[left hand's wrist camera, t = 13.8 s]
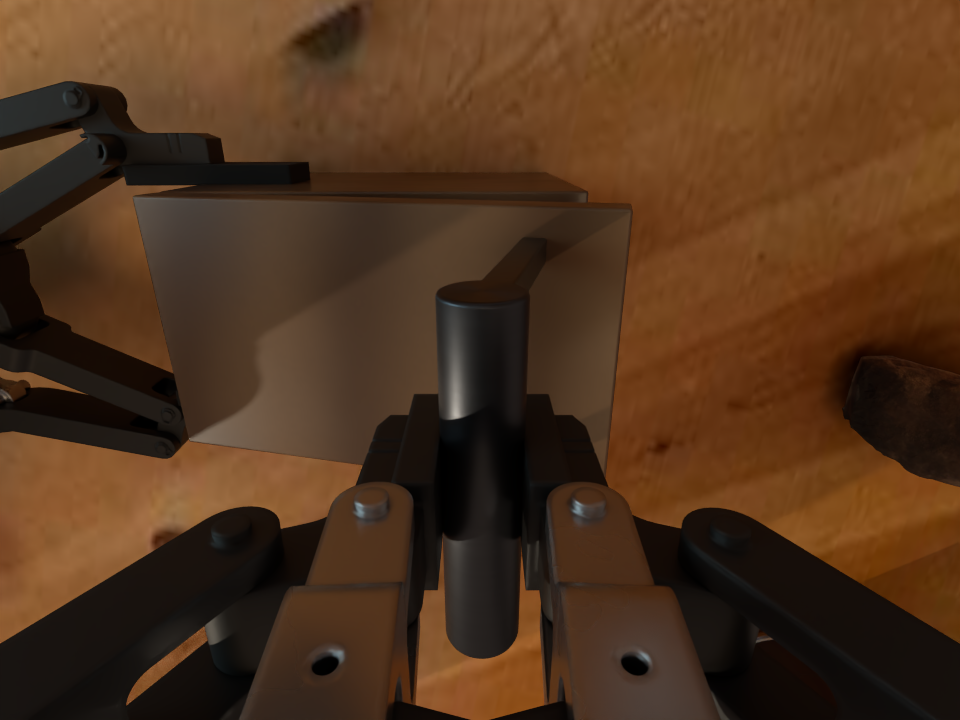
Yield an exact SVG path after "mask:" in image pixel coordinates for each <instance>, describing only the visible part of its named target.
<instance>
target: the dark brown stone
mask: <svg viewBox="0 0 960 720" xmlns="http://www.w3.org/2000/svg"><path fill="white" fill-rule="evenodd" d="M842 409H843V416H844V418H845V419H848V420H850V426H851V428H853V429H854V430H855V431H857V432H858V433H859V434H860V435H861V436H862V437H863V438H864V439H865V440H866V441H867V442H868V443H869V444H871V445H872V446H873V447H874V448H875V449H876V450H877V451H879V452H881V453H882V454H883V455H884V456H887V457H889V458H891V459H894V460H896V461H897V462H899V463H900V464H901V465H902V466H903V467H904V468H905V469H906V470H907V471H909V472H910V473H913V474H915V475H917V476H919V477H923V478H927V479H934V480H937V481H940V482H943V483H947V484H950V485H954V486H958V487H960V375H958V374H955V373H953V372H949V371H945V370H941V369H937V368H933V367H928V366H924V365H921V364H918V363H915V362H912V361H909V360H905V359H901V358H897V357H894V356H886V355H881V356H863V357H861V359H860V361H859V364H858V366H857V369H856V371H855V374H854V376H853V379H852V382H851V386H850V389H849V393H848V396H847V399H846V403H845V406H844V407H843V408H842Z"/></svg>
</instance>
